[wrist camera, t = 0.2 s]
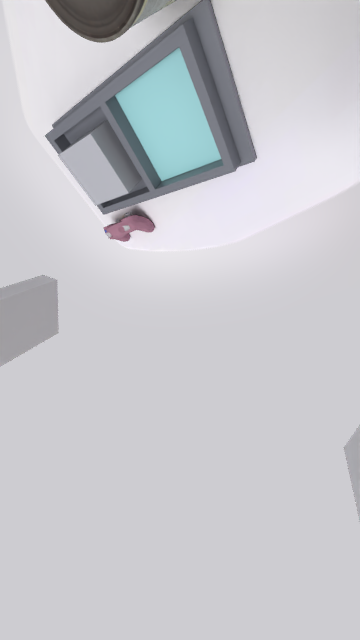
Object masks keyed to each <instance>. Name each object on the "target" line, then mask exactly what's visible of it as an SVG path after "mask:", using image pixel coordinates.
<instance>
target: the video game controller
mask: <svg viewBox="0 0 360 640" xmlns="http://www.w3.org/2000/svg"><path fill="white" fill-rule="evenodd" d="M129 214H131V213H126V214H125V216H126V215H127V216H126V217H125V218H124V219H122V220H120V221H121V222H119V223H115V224H110V225H108V226H106V227H104V230H105V233H106V235H107V236H108V237H109V238H110V239H117V240H120V241H124V242H125V241H128V240H129V239H130V235H129V234H128V233H130V232H132V231H134V230H141V231H145V232H152V231H154V224H153V223H152V222H151V221H150V220H149V219H147V218H145V217H142V216H138V215H129Z"/></svg>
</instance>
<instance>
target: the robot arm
mask: <svg viewBox="0 0 360 640" xmlns="http://www.w3.org/2000/svg"><path fill="white" fill-rule="evenodd" d="M57 295H58V294H57V280H56V279H53V278H50V277H47V276H45V275H42V276H38V277H35V278H32V279H29V280H25V281H22V282H19V283H16V284H12V285H9V286H6V287H3V288H0V366H2V365H4V364H6V363H7V362H9V361H11V360H13V359H14V358H16V357H18V356H19V355H21V354H23V353H25V352H26V351H28V350H30V349H31V348H33V347H35V346H36V345H38V344H40V343H42V342H44V341H45V340H47V339H49V338H50V337H52V336H54V335H56V334H57V333H58V297H57ZM344 450H345V454H346V460H347V464H348V469H349V474H350V478H351V482H352V488H353V492H354V497H355V502H356V506H357V511H358V516H359V520H360V426H359V427H358V428H357V430H356V431H355V433H354V434H353V435H352V437H351V438H350V440H349V441H348V443H347V444H346V445H345V447H344Z"/></svg>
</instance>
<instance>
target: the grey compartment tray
mask: <svg viewBox="0 0 360 640" xmlns="http://www.w3.org/2000/svg"><path fill="white" fill-rule="evenodd" d="M52 126H53V128H54V129H52V130H51V131H50V132H49V133H48V134H46V135H45V137H46V138H47V139H48V141H49V142H50V143H51V145H52V146H53V147H54V149H55V150H56V151H57V153H58V154H59V155H58V156H59V158H60V159H61V160H62V162H63V163H64V164H65V166H66V167H67V168H68V170H69V171H70V172H71V174H72V175H73V176H74V178H75V179H76V180H77V182H78V183H79V184H80V186H81V187H82V188H83V190H84V191H85V192H86V194H87V195H88V196H89V198H90V199H91V200H92V202H93V203H94V204H95V206H96V205H97V206H98V208H99V209H100V210H101V212H102V213H103V214H107V213H110V212H113V211H116V210H119V209H123V208H126V207H129V206H132V205H135V204H138V203H141V202H144V201H147V200H150V199H153V198H156V197H159V196H162V195H165V194H168V193H171V192H174V191H177V190H180V189H183V188H186V187H189V186H192V185H195V184H198V183H201V182H204V181H207V180H210V179H213V178H216V177H219V176H222V175H225V174H228V173H231V172H234V171H236V169H237V167H239V166H242V165H245V164H248V163H251V162H254V161H255V160H256V158H257V157H256V154H255V150H254V147H253V143H252V140H251V137H250V133H249V130H248V127H247V123H246V120H245V116H244V113H243V110H242V106H241V103H240V99H239V96H238V93H237V89H236V86H235V83H234V79H233V76H232V72H231V69H230V66H229V62H228V59H227V56H226V52H225V49H224V45H223V42H222V39H221V35H220V32H219V29H218V25H217V22H216V18H215V15H214V12H213V8H212V5H211V2H210V0H202V1H201V2H199V3H198V4H197V5H196V6H195V7H193V8H192V9H191V10H190V11H189V12H187V13H186V14H185V15H184V16H183V17H181V18H180V19H179V20H178V21H177V22H175V23H174V24H173V25H172V26H171V27H169V28H168V29H167V30H166V31H165V32H163V33H162V34H161V35H160V36H159V37H157V38H156V39H155V40H154V41H153V42H151V43H150V44H149V45H148V46H147V47H145V48H144V49H143V50H142V51H141V52H139V53H138V54H137V55H136V56H134V57H133V58H132V59H131V60H130V61H128V62H127V63H126V64H125V65H124V66H122V67H121V68H120V69H119V70H118V71H116V72H115V73H114V74H113V75H112V76H110V77H109V78H108V79H107V80H106V81H104V82H103V83H102V84H101V85H100V86H98V87H97V88H96V89H95V90H94V91H92V92H91V93H90V94H89V95H88V96H86V97H85V98H84V99H83V100H82V101H80V102H79V103H78V104H77V105H76V106H74V107H73V108H72V109H71V110H70V111H68V112H67V113H66V114H65V115H64V116H62V117H61V118H60V119H59V120H58V121H56V122H55V123H54V124H53V125H52Z"/></svg>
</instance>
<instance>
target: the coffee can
mask: <svg viewBox="0 0 360 640" xmlns="http://www.w3.org/2000/svg"><path fill="white" fill-rule="evenodd" d="M45 1H46V2H47V3H48V5H49V6H50V8H51V9H52V10H53V11H54V13H55V14H56V15H57V16H58V17H59V19H60V20H61V21H62V22H63V23H64V24H65V25H66V26H68V27H69V28H70V29H71V30H72V31H74V32H75V33H76V34H78V35H80V36H81V37H83V38H85V39H87V40H90V41H94V42H109V41H113V40H115V39H116V38H118V37H120V36H121V35H123V34H124V33H125V32H126V31H127V30H128V29H129V28H130V27H132V26H134V25H135V24H137V23H139V22H140V21H142V20H144V19H145V18H147V17H149V16H150V15H152V14H154V13H156V12H157V11H159V10H161V9H162V8H164V7H166V6H167V5H169V4H171V3H173V2H174V1H176V0H45Z"/></svg>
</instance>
